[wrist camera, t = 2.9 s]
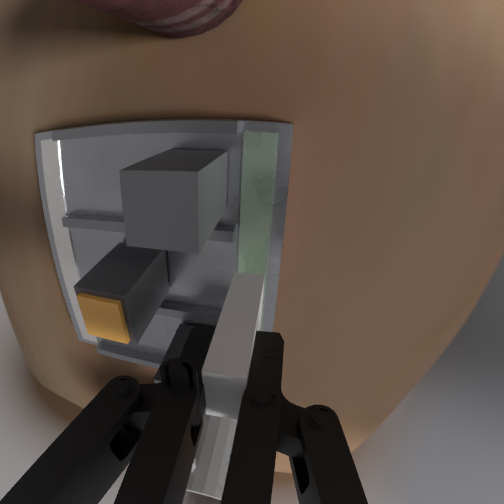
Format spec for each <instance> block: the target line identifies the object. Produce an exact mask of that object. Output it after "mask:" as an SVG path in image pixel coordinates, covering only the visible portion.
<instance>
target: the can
mask: <svg viewBox="0 0 504 504" xmlns="http://www.w3.org/2000/svg"><path fill="white" fill-rule="evenodd" d="M72 1H76V2H79V3H82V4H85V5H88V6H91V7H94V8H97V9H99V10H102V11H105V12H108V13H110V14H113V15H116V16H118V17H121V18H123V19H126V20H128V21H131V22H133V23H135V24H138V25H140V26H142V27H145V28H147V29H149V30H151V31H154V32H156V33H159V34H161V35H164V36H167V37H182V38H184V37H188V36H193V35H199V34H202V33H204V32H206V31H208V30H211V29H213V28H215V27H217V26H219V25H220V24H221V23H222V22H224V21H225V20H226V19H227V18H229V17H230V16H231V15H232V14H233V13H234V11H235V10H236V9H237V7H238V6H239V4H240V3H241V2H242V0H72Z"/></svg>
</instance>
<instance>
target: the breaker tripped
mask: <svg viewBox="0 0 504 504" xmlns="http://www.w3.org/2000/svg"><path fill="white" fill-rule="evenodd" d="M74 290H75V293H76V297H77V300H78V304H79V307H80V310H81V313H82V316H83V320H84V323H85V326H86V329H87V332H88V334H90V335H94V336H97V337H101V338H105V339H109V340H113V341H117V342H121V343H125V344H131V345H135V346H137V344H138V342H139V341H140V339H141V337H142V336H143V334H144V332H145V330H146V329H147V327H148V325H149V324H150V322H151V320H152V319H153V317H154V315H155V314H156V312H157V310H158V309H159V307H160V305H161V304H162V302H163V300H164V299H165V297H166V295H167V294H168V292H169V285H168V275H167V264H166V253H165V250H160V249H151V248H142V247H133V246H127V244H126V243H124V242H120V243H118V244H117V245H116V246H115V247H114V248H113V249H112V250H111V251H110V252H109V253H108V254H106V255H105V256H104V257H103V258H102V259H101V260H100V261H99V262H98V263H97V264H96V265H95V266H94V267H93V268H92V269H91V270H90V271H89V272H88V273H87V274H86V275H84V276H83V277H82V278H81V279H80V280H79V281H78V282H77V283H76V284H75V285H74Z"/></svg>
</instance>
